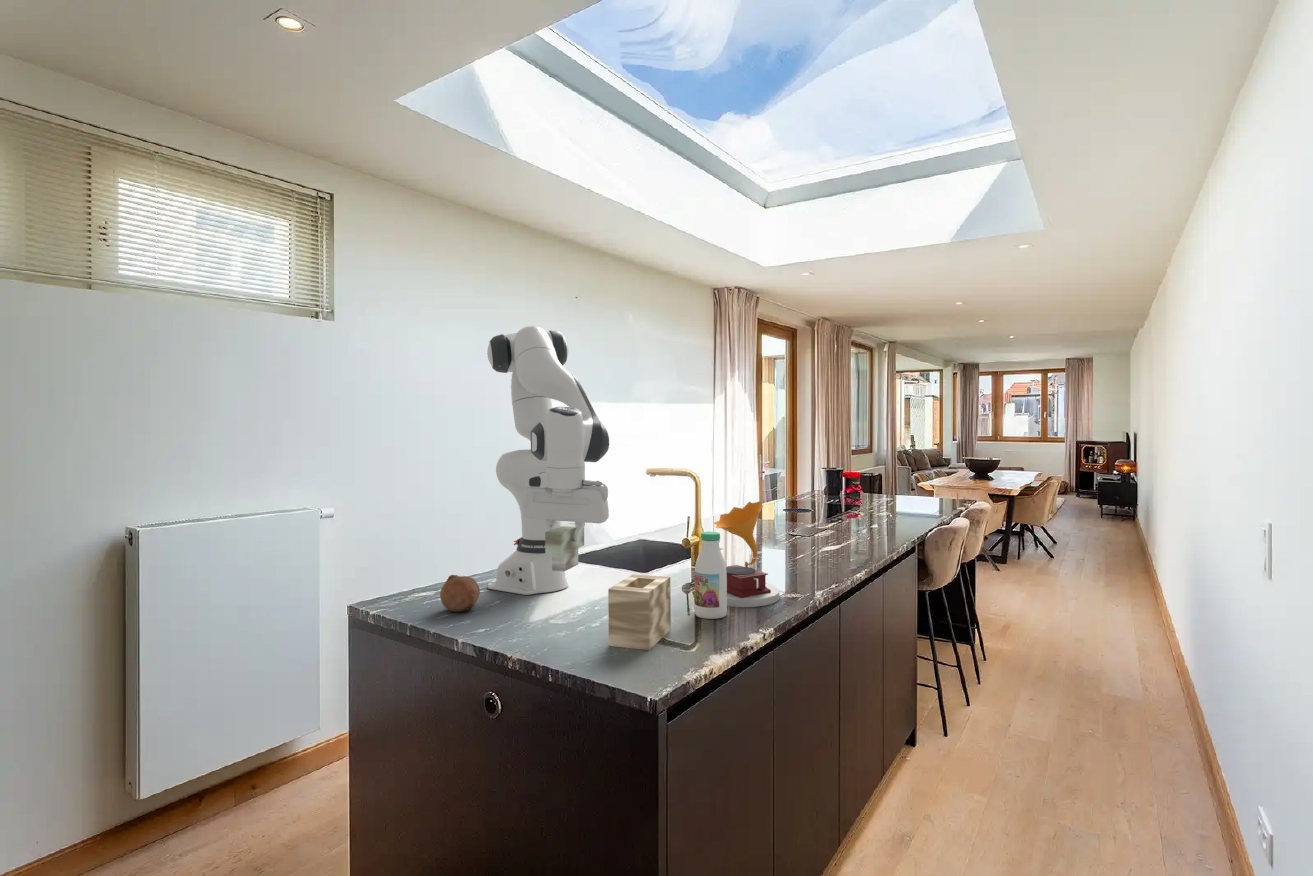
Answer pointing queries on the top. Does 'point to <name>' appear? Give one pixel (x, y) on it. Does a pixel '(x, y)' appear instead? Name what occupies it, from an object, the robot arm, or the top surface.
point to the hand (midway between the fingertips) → (565, 540)
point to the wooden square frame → (639, 611)
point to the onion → (459, 593)
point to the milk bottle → (710, 579)
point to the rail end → (563, 547)
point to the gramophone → (744, 581)
